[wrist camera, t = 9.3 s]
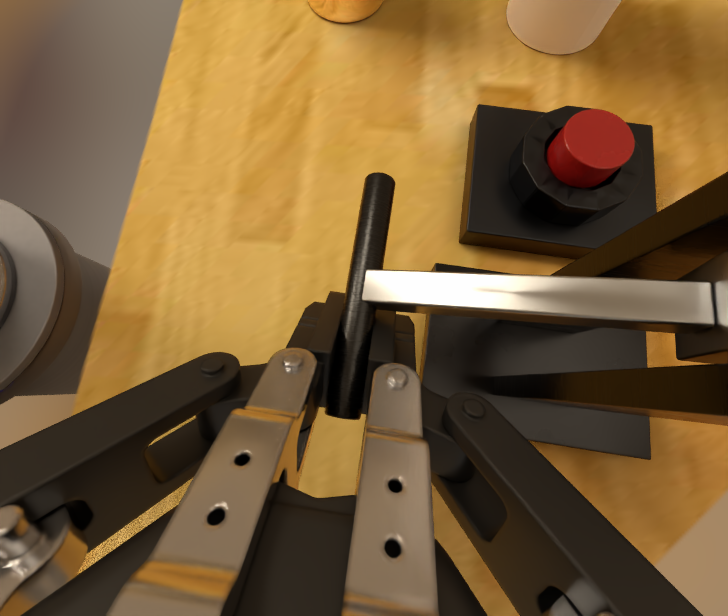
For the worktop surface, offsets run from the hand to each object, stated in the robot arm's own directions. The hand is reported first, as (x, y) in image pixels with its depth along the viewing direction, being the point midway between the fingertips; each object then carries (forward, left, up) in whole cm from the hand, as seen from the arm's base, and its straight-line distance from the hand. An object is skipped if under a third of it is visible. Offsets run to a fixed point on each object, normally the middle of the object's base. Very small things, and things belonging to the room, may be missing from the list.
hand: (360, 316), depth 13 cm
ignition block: (+11, +11, -7) cm, 17 cm away
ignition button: (+11, +11, -4) cm, 16 cm away
